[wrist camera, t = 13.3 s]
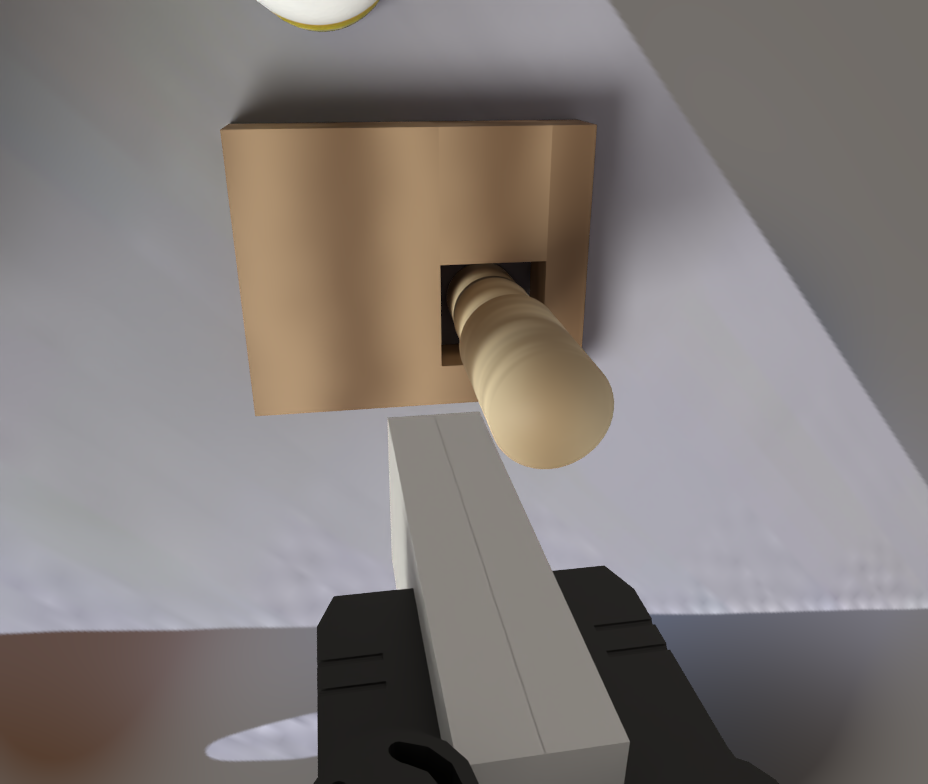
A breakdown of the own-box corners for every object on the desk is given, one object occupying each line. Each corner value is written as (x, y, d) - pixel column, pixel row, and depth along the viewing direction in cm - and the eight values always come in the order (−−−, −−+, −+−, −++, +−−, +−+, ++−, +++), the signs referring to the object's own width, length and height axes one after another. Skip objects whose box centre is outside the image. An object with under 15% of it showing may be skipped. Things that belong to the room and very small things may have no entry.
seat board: (260, 391, 39) (255, 416, 36) (229, 123, 34) (220, 129, 31) (562, 372, 41) (578, 395, 39) (576, 119, 36) (596, 124, 33)
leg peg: (438, 339, 39) (489, 473, 27) (437, 255, 38) (490, 357, 25) (521, 334, 40) (608, 464, 27) (524, 252, 38) (619, 349, 26)
